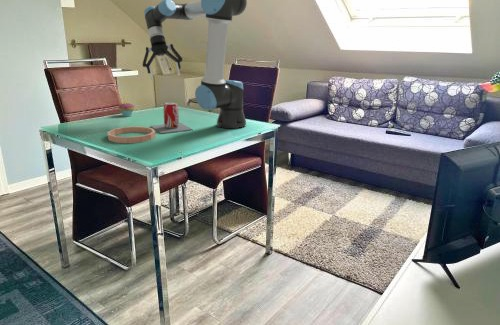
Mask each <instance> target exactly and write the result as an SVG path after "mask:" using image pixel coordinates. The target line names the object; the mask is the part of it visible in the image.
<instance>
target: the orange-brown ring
mask: <svg viewBox="0 0 500 325" xmlns="http://www.w3.org/2000/svg"><path fill="white" fill-rule="evenodd" d="M129 133H142V134H143V133H145V134H143V135H137V136H119V135H120V134H129ZM117 135H118V136H117ZM155 138H156V131H155V130H154V129H153V128H151V127H148V126H137V125H136V126H123V127H119V128H118V127H117V128H112V129H111V130H109V131H107V139H108V141H109V142H113V143H116V144H135V143H143V142H144V143H145V142H148V141H151V140H153V139H155Z"/></svg>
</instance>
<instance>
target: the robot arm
mask: <svg viewBox="0 0 500 325" xmlns="http://www.w3.org/2000/svg"><path fill="white" fill-rule="evenodd" d="M247 1H248V0H199V1H198V0H197V1H192V2H188V3H187V2H186V3H175V2H174V1H173V0H161V1H160V2H159V3H158V4H157V5H156V6H155V5H153V6H152V5H151V6H148V7H146V8H145V9H144V11H143V13H144V19H145V23H146V27H147V32H148V36H149V41H150V46H151V47H148V46H146V47H145V54H144V57H143V61H142V67H143V68H146V70H147V74H150V78H151V80H152V81H153V80H154V76H153V72H152V70H153V69H152V66H151V64H152V62H153V61H154V59H156V57H159V56H167V57H168V58H170V59H171V60H172V61H174V62H175V66H176V67H175V68H176V71H177V76H178V77H180V76H181V72H180V70H181V69H182V68H181V67H182V66H181V62H183V57H182V56H181V55H180V53H179V52H178V51H177V50H176V49H175V47H174V44H173V43H170V45H167V42H166V38H165V34H164V33H165V32H164V29H163V25H162V24H163V23H164V22H165V21H166V20H168V19H169V20H181V21H182V20H184V21H191V20H194V19H197V18H198V19H199V18H205V20H207V22H208V26H207V27H208V29H207V38H206V39H207V42H206V55H205V68H204V69H205V70H204V76H203V77H202V78H201V79H200V85H198V86H197V87H196V89H195V93H194V95H195V96H194V97H195V101H196V103H197V104H198V106H199V107H200V108H201V109H202V110H207V111H208V110H211V111H213V110H215V109H219V114H218V116H217V119H216V126H217V127H219V128H221V127H222V128H223V129H229V128H235V129H240V128H239V127H243V126H245V125H246V126H247V120H246V117H245V113H244V90H245V89H244V84H243V82H242V81H239V80H232V79H224V75H225V74H224V73H225V64H226V63H225V62H226V61H225V60H226V53H227V52H226V51H227V50H226V49H227V40H228V28H229V24H230V23H232V21H233V17H235V16H239V15H241V14H243V12H244V11H245V10H246V8H247V3H248V2H247ZM168 49H169V50H171V52H172V53H173V54H174V55H173V54H172V53H171V52H170V51H169V50H168ZM151 52H152V54H151V56H150V58H149V59H148V57H149V53H151ZM246 126H245V127H246ZM243 128H244V127H243Z"/></svg>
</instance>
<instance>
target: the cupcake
mask: <svg viewBox="0 0 500 325" xmlns="http://www.w3.org/2000/svg"><path fill="white" fill-rule="evenodd" d="M122 100H123V103H121V104H119V105H118V110H119V111H120V113H121V115H122V117H126V118H127V117H131V116H132V114H133V112H134V110H135V106H134V104H132V103H128V102H126V100H125V96H124V94H123V96H122Z"/></svg>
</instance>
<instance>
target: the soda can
mask: <svg viewBox="0 0 500 325" xmlns="http://www.w3.org/2000/svg"><path fill="white" fill-rule="evenodd" d="M179 117H180V116H179V107H178V103H177V102H175V101H174V102H172V101H169V102H168V101H167V102H165V103H164V105H163V123H164V125H165V127H167V128H170V129H173V128H177V127H178V126H179V123H180V121H179V120H180V118H179Z"/></svg>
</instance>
